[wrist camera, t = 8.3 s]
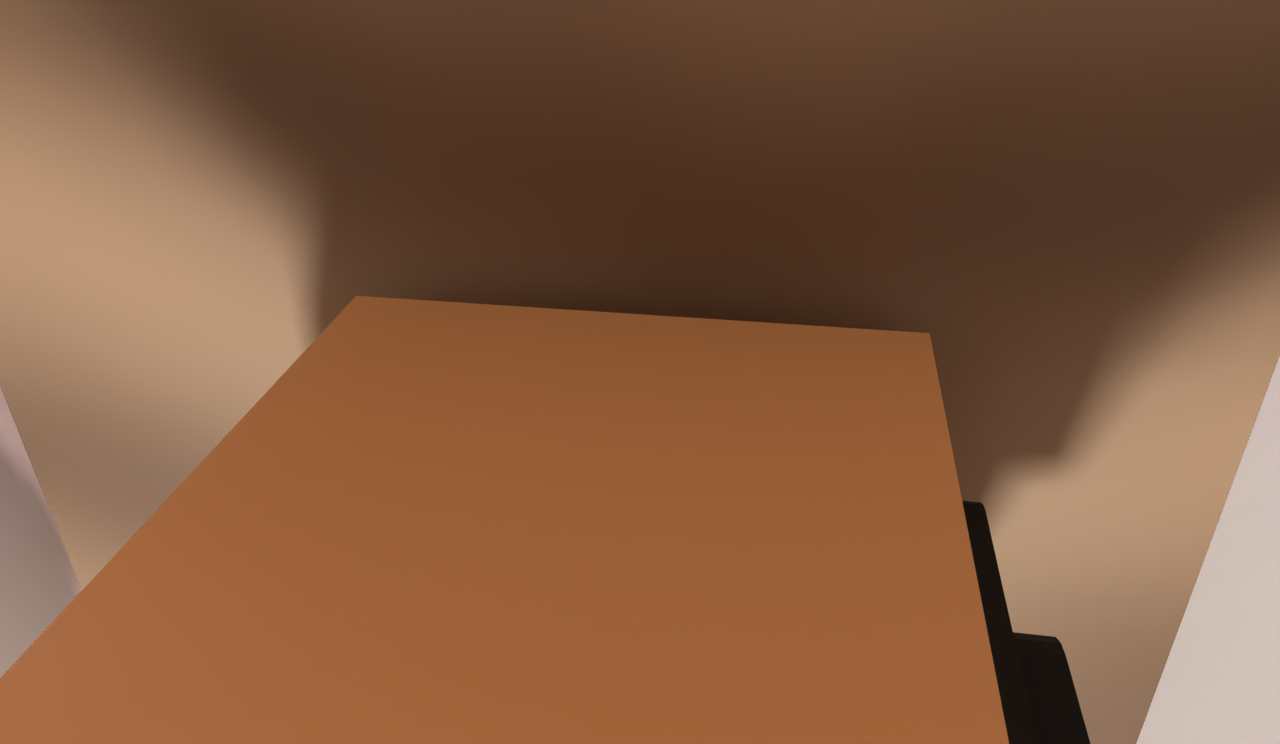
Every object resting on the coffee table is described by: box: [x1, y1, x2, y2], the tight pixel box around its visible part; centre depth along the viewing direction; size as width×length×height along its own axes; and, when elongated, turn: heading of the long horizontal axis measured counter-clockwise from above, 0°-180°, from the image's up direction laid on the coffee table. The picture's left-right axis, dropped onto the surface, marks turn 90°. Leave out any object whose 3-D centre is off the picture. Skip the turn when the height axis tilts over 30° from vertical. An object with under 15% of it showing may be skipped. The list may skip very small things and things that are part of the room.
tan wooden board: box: [0, 0, 1280, 744], centre depth 10 cm, size 20×15×1 cm
